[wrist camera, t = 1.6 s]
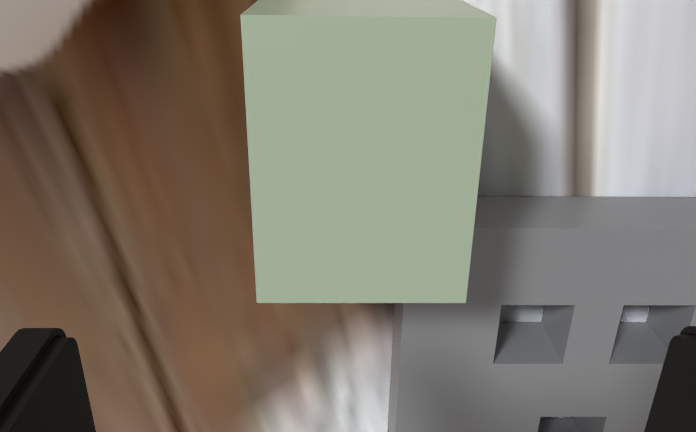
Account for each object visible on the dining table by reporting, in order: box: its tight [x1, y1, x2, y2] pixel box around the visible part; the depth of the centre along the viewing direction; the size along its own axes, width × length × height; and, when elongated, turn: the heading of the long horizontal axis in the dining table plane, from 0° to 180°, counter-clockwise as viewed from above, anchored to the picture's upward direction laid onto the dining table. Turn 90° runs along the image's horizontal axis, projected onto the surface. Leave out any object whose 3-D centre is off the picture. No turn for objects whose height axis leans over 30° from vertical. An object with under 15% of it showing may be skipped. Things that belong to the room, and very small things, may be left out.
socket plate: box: [388, 196, 696, 432], centre depth 28 cm, size 16×16×4 cm
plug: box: [241, 0, 496, 303], centre depth 21 cm, size 8×7×8 cm
